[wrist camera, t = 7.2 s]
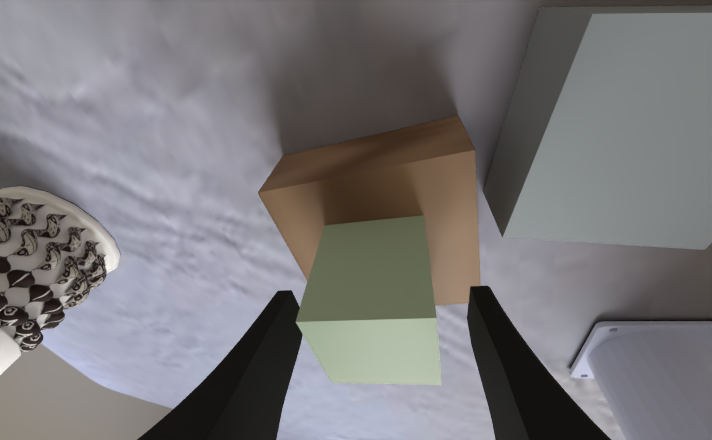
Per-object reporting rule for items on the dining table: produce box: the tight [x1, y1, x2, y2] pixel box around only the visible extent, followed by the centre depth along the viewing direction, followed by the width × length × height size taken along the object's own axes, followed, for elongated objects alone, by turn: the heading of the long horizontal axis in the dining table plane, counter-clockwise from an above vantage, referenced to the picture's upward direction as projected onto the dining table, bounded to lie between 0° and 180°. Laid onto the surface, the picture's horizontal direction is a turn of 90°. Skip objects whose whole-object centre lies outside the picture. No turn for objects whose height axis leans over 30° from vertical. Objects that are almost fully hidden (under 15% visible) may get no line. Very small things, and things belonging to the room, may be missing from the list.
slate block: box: [483, 5, 712, 250], centre depth 11 cm, size 8×8×4 cm
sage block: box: [296, 215, 442, 385], centre depth 12 cm, size 4×4×5 cm
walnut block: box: [258, 116, 481, 305], centre depth 16 cm, size 9×9×4 cm
